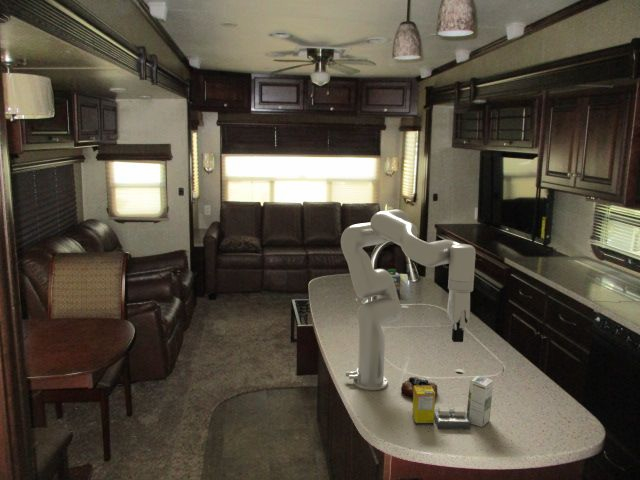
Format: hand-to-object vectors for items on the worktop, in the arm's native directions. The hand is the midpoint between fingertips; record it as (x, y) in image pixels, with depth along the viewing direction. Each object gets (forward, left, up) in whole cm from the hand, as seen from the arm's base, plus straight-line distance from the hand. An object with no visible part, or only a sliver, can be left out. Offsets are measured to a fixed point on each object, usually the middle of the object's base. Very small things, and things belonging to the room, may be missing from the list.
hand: (457, 341), depth 173 cm
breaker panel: (0, 0, -28) cm, 28 cm away
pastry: (-7, +20, -29) cm, 35 cm away
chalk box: (-4, +142, -28) cm, 145 cm away
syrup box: (+9, +1, -28) cm, 30 cm away
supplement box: (-9, +1, -28) cm, 30 cm away
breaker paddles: (0, +1, -25) cm, 25 cm away
